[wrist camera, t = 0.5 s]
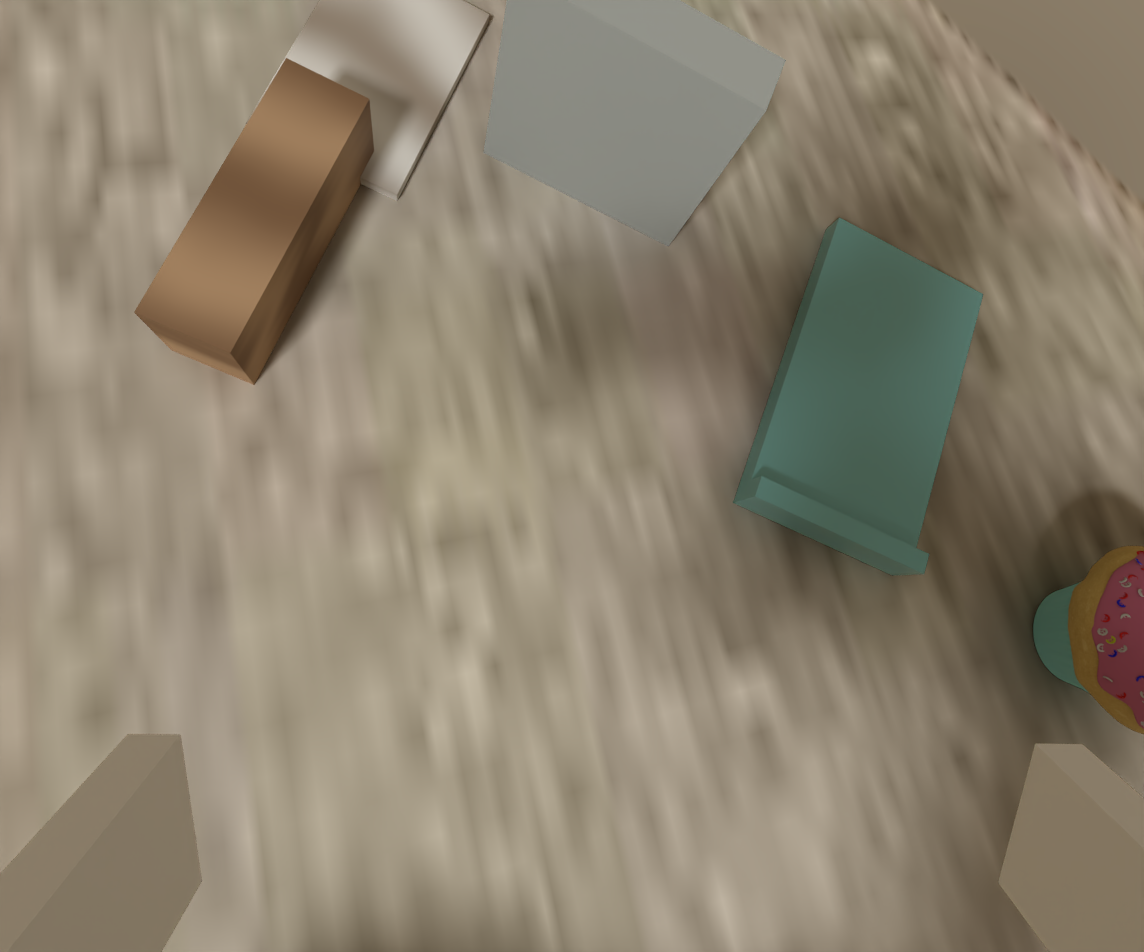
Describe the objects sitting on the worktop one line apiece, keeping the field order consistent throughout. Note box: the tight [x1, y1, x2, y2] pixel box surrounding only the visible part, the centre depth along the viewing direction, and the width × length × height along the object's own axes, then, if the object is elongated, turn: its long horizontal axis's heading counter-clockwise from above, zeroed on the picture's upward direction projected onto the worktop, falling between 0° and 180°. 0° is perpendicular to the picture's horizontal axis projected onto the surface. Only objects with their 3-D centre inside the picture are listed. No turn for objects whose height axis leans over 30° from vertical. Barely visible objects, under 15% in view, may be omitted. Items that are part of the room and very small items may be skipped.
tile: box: [484, 0, 786, 246], centre depth 29 cm, size 3×10×10 cm, turn 68°
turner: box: [134, 0, 490, 385], centre depth 29 cm, size 22×7×4 cm, turn 159°
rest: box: [733, 218, 983, 576], centre depth 34 cm, size 16×9×2 cm, turn 158°
